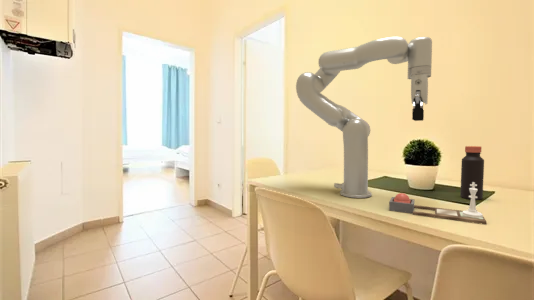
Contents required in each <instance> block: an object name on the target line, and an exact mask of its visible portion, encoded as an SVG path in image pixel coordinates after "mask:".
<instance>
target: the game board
mask: <svg viewBox="0 0 534 300" xmlns="http://www.w3.org/2000/svg"><path fill="white" fill-rule="evenodd" d="M414 209H419V210H425V211H426V210H427V211H435V212H434V213H431V212H425V211H424V212H423V211H415V210H414V211H413V214H412V215H414V216H420V217H421V216H422V217H429V218H434V219H436V218H437V219H444V220H451V221H457V222H459V221H460V222H466V223H472V222H474V224H479V223H482V224H481V225H487V221H486V218H485V217H484V214H483V215H482V216H483V217H482V218H473V217H468V216H465V215H463V214H462V213H463V211H464V210H458V209H452V208H451V209H450V208H443V207H435V206H434V207H433V206H428V205H427V206H425V205H418V204H417V205H416V204H414Z"/></svg>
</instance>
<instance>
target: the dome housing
mask: <svg viewBox="0 0 534 300" xmlns="http://www.w3.org/2000/svg"><path fill="white" fill-rule="evenodd" d="M394 198H395V196H392V197H391V198H390V200H389V202H388V203H389V204H388V210H389V211H391V212H399V213H407V214H412V215H413V211H415V208H414V205H415V202H416V201H415V199H413V198H410V200H411V203H402V202H394Z"/></svg>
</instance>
